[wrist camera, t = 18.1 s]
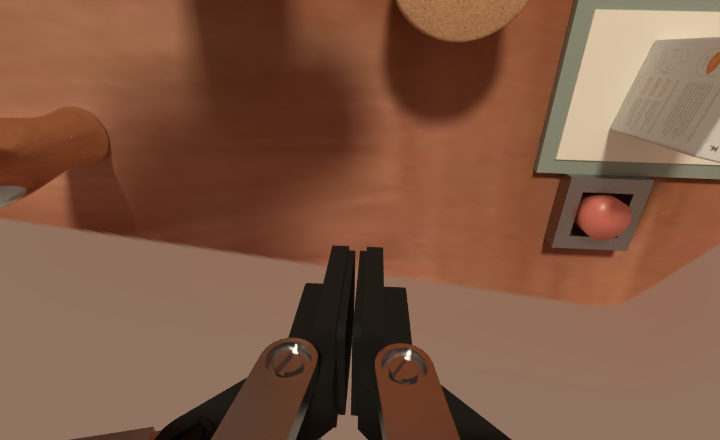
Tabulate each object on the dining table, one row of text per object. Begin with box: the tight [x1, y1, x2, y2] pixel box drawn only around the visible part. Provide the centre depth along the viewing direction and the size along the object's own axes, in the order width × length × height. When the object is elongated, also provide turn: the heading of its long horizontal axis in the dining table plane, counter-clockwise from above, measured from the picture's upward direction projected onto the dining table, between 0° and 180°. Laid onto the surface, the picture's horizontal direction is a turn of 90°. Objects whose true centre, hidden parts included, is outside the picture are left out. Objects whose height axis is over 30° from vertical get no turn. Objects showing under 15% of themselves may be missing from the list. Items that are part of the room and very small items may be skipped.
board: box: [534, 0, 720, 179], centre depth 33 cm, size 16×20×1 cm
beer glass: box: [0, 107, 109, 208], centre depth 32 cm, size 7×7×15 cm
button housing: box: [544, 174, 655, 251], centre depth 38 cm, size 8×8×2 cm
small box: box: [611, 37, 720, 163], centre depth 28 cm, size 8×6×10 cm
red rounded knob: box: [574, 192, 631, 240], centre depth 37 cm, size 4×4×3 cm
